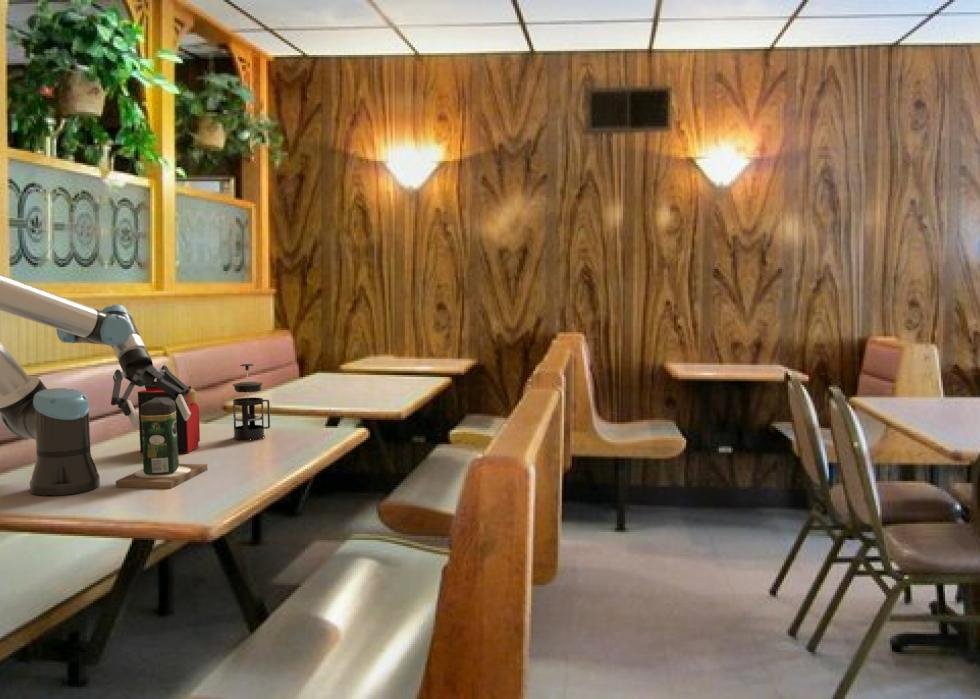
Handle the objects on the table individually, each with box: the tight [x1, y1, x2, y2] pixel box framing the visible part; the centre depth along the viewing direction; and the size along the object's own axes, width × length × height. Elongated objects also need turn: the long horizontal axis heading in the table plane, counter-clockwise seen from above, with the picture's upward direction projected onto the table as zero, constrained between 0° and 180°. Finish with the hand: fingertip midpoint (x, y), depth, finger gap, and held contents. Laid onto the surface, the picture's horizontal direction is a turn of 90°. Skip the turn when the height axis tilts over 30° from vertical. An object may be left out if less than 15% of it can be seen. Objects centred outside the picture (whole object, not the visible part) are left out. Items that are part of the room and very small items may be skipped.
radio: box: [137, 385, 201, 454], centre depth 262 cm, size 16×10×20 cm, turn 84°
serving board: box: [115, 463, 208, 489], centre depth 227 cm, size 20×14×2 cm
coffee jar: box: [140, 397, 180, 475], centre depth 226 cm, size 10×8×19 cm
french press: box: [232, 363, 271, 441], centre depth 280 cm, size 12×9×23 cm
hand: (162, 420), depth 227 cm, fingers open, 13 cm apart
